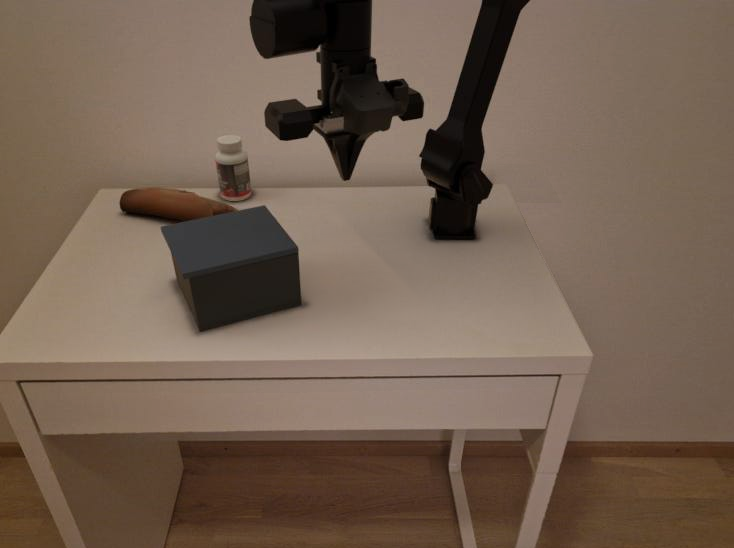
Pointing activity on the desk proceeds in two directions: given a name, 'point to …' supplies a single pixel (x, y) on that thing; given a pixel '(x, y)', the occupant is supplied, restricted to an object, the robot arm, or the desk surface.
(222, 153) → the pill bottle
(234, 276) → the desk case
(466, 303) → the desk surface
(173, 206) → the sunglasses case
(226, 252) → the cover
